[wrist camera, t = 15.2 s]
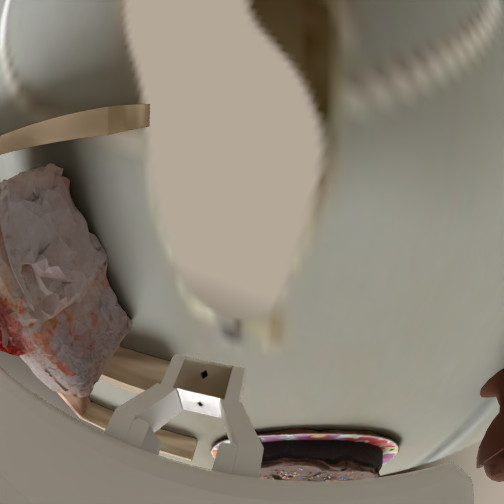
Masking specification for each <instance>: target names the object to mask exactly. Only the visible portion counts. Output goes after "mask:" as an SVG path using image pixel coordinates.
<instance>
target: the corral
mask: <svg viewBox="0 0 504 504" xmlns="http://www.w3.org/2000/svg"><path fill="white" fill-rule="evenodd" d="M149 115H150V104H135V105H119V106H107V107H102V108H96V109H91V110H86V111H81V112H77V113H72V114H68V115H64V116H60V117H56V118H52V119H49V120H45V121H42V122H38V123H35V124H32V125H29V126H26V127H23V128H20V129H17V130H14V131H11V132H8V133H6V134H3V135H1V136H0V155H1V154H5V153H8V152H12V151H16V150H20V149H25V148H29V147H34V146H38V145H43V144H48V143H54V142H60V141H66V140H72V139H79V138H86V137H94V136H103V135H110V134H115V133H119V132H124V131H128V130H133V129H138V128H144V127H149ZM170 362H171V361H167V360H164V359H160V358H156V357H153V356H149V355H146V354H142V353H139V352H135V351H132V350H129V349H126V348H123V347H120V346H119V347H118V348H117V350H116V352H115V353H114V355H113V356H112V357H111V359H110V361H109V363H108V365H107V366H106V368H105V370H104V371H103V373H102V375H101V376H100V378H99V379H100V380H103V381H105V382H107V383H110V384H112V385H115V386H118V387H120V388H123V389H126V390H128V391H131V392H134V393H137V394H141V393H142V392H144V391H146V390H147V389H149V388H150V387H152V386H153V385H155V384H157V383H159V384H161V382H162V379H163V377H164V375H165V373H166V370H167V368H168V366H169V364H170ZM58 394H59V395H60V396H61V397H62V398H63V400H64V401H65V402H66V403H67V404H68V405H69V407H70V408H71V409H72V410H73V411H74V412H75V413H76V414H77V415H78V417H79V418H81V419H83V420H85V421H87V422H89V423H91V424H93V425H95V426H97V427H99V428H101V429H103V430H105V429H106V427H107V425H108V423H109V421H110V419H111V417H112V415H113V413H114V411H111V410H109V409H107V408H104V407H102V406H100V405H98V404H96V403H93V402H91V401H90V399H89V398H88V397H87V396H86V397H80V398H78V397H74V396H70V395H66V394H63V393H60V392H58ZM155 434H156V436H157V437H158V439H159V440H160V442H161V444H162V445H161V448H160V451H159V452H161V453H164V454H168V455H171V456H174V457H178V458H181V459H185V460H189V461H192V459H193V455H194V452H195V449H196V445H197V442H198V441H197V439H195V438H191V437H187V436H184V435H180V434H176V433H173V432H170V431H166V430H163V429H158V430H157V431H156V432H155Z"/></svg>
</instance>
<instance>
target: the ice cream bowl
mask: <svg viewBox="0 0 504 504" xmlns="http://www.w3.org/2000/svg"><path fill="white" fill-rule="evenodd" d="M480 395H481V396H482V397H497V400H498V402H499V405H500V413H499V414H498V415H497V416H496V417H495V419H494V420H493V421H492V423H491V424H490V426H489V428H488V429H487V431H486V434H485V436H484V438H483V440H482V442H481V444H480V446H479V450H478V455H477V468H480V467H482V466H484V469H485V472H486V475H487V476H488V477H489V478H490V479H491V480H494V481H498V482H501V481H504V370H502V371H500V372H499V373H497V374H496V375H495V376H494V377H492V378H491V379H490V380H489V381H488V382H487V383H486V384H485V385H484V386H483V387H482V389H481V392H480Z"/></svg>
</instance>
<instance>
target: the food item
mask: <svg viewBox="0 0 504 504" xmlns="http://www.w3.org/2000/svg"><path fill="white" fill-rule="evenodd" d="M62 173H63V168H60V167H57V166H56V165H55V164H53V163H49V164H47V165H46V166H41V167H38V168H34V169H30V170H28V171H24V172H22V173H19V174H18V175H16V176H14V177H12V178H10V179H8V180H3V181H2V182H1V183H0V351H4V352H7V353H9V354H12V355H16V356H20V357H21V358H22V359H23V360H24V361H25V362H26V364H27V365H28V366H29V367H30V368H31V370H32V372H33V373H34V374H35V375H36V376H37V377H38V378H39V379H40V380H41V381H42V382H43V383H44V384H46V385H47V386H48V387H49V388H50V389H51V390H53V391H54V392H60V393H63V394H66V395H70V396H74V397H78V398H80V397H86V396H88V395H90V393H91V392H92V390H93V386H94V384H95V383H96V382H97V381H98V380H99V378H100V376H101V375H102V373H103V371H104V370H105V368H106V366H107V365H108V363H109V361H110V359H111V357H112V356H113V355H114V353H115V352H116V350H117V348H118V347H119V345H120V343H121V341H122V340H123V338H124V337H125V336H126V334H127V333H128V332H129V330H130V329H131V328H132V323H133V322H132V321H131V320H130V319H129V318H128V317H127V315H126V312H125V311H123V309H122V308H121V306H120V305H119V303H118V302H117V297H116V295H115V293H114V292H113V290H112V288H111V287H110V285H109V283H108V280H107V277H106V269H107V261H108V258H107V253H106V251H105V249H104V248H103V247H102V246H101V244H100V242H99V240H98V238H97V237H96V236H95V235H93V234H92V233H90V232H89V230H88V226H87V222H86V220H85V218H84V217H83V215H82V213H81V212H80V211H79V210H78V209H77V208H76V207H75V205H74V203H73V200H72V198H71V196H70V189H69V185H70V180H69V179H67V178H66V177H64V176H62Z"/></svg>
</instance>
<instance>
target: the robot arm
mask: <svg viewBox="0 0 504 504" xmlns="http://www.w3.org/2000/svg"><path fill="white" fill-rule="evenodd" d="M245 373H246V368H242V367H235V366H231V365H225V364H220V363H214V362H208V361H203V360H199V359H195V358H190V357H187V356H183V355H179V354H175V355H174V356H173V357H172V359H171V362H170V364H169V366H168V368H167V370H166V373H165V375H164V377H163V379H162V382H161V384H159V383H157V384H155V385H153V386H152V387H150V388H149V389H147V390H146V391H144V392H142V393H141V394H139V395H137V396H136V397H134V398H133V399H131V400H129V401H128V402H126V403H124V404H123V405H121V406H119V407H117V408H116V409H115V411H114V413H113V415H112V417H111V419H110V421H109V423H108V425H107V427H106V429H105V431H104V433H102V432H100V431H98V430H96V429H94V428H92V427H90V426H88V425H86V424H84V423H82V422H81V421H79V420H77V419H75V418H73V417H72V416H70V415H68V414H66V413H65V412H63V411H61V410H59V409H58V408H56V407H55V406H53V405H52V404H50V403H49V402H47V401H46V400H44V399H42V398H41V397H40V396H38V395H37V394H35V393H34V392H32V391H31V390H30V389H28V388H27V387H25V386H24V385H23V384H21V383H20V382H19V381H18V380H16V379H15V378H14V377H12V376H11V375H10V374H9V373H7V372H6V371H5V370H4V369H3V368H2V367H0V504H474V494H473V484H472V481H471V479H470V477H469V476H468V475H467V474H466V473H465V472H464V471H463V470H462V469H461V468H460V467H459V466H458V465H457V464H455V463H446V464H442V465H439V466H435V467H431V468H427V469H423V470H419V471H414V472H409V473H404V474H399V475H393V476H386V477H379V478H371V479H361V480H349V481H319V482H316V481H287V480H274V479H264V478H259V474H260V468H261V462H262V456H263V450H264V447H263V446H262V444H261V442H260V440H259V438H258V436H257V434H256V432H255V429H254V427H253V425H252V423H251V421H250V419H249V417H248V415H247V413H246V411H245V409H244V406H243V404H242V403H241V400H242V395H243V389H244V382H245ZM182 409H185V410H189V411H194V412H198V413H203V414H207V415H211V416H215V417H219V418H221V420H222V423H223V425H224V428H225V431H226V433H227V436H228V438H229V441H230V443H225V442H222V443H221V444H219V447H218V450H217V454H216V458H215V461H214V465H213V468H212V470H210V469H205V468H201V467H197V466H193V465H189V464H185V463H182V462H178V461H175V460H172V459H168V458H165V457H162V456H159V455H158V454H159V451H160V448H161V445H162V444H161V442H160V440H159V439H158V437H157V436H156V434H155V432H156V431H157V430H158V429H160V428H161V427H162V426H164V425H165V424H166V423H167V422H169V421H170V420H171V419H172V418H173V417H175V416H176V415H177V414H178V413H180V412H181V411H182Z"/></svg>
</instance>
